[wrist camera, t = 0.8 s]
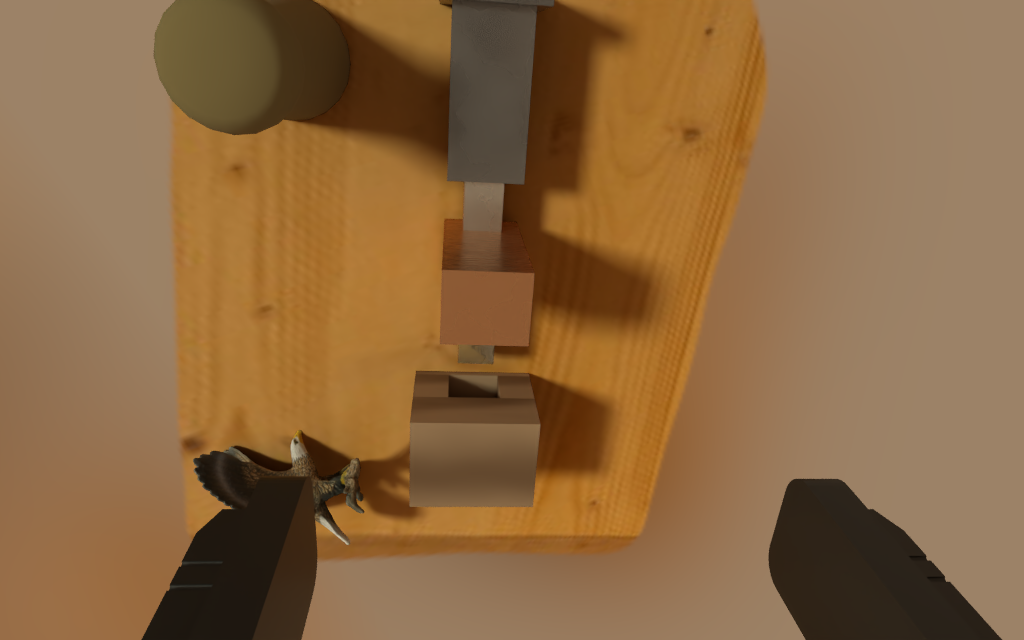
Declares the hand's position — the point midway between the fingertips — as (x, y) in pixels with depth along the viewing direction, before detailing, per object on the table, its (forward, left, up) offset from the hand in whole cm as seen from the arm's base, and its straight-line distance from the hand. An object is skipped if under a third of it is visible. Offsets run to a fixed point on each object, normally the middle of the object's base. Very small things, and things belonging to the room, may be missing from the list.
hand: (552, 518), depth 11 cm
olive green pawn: (-6, -10, -28) cm, 30 cm away
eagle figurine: (+18, -11, -28) cm, 35 cm away
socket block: (+14, 0, -28) cm, 31 cm away
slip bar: (0, 0, -27) cm, 27 cm away
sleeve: (-5, 0, -28) cm, 28 cm away
